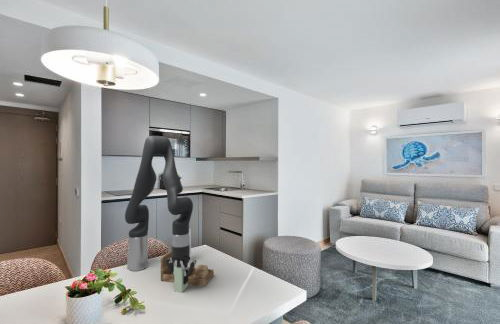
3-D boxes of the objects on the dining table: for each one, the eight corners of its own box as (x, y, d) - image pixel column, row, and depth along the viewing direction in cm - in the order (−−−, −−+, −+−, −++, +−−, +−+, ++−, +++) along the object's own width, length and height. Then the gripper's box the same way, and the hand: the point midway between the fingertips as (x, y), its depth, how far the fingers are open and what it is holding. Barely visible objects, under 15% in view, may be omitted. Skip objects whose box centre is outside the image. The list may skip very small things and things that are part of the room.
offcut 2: (193, 282, 114) (193, 275, 114) (199, 276, 120) (199, 270, 120) (203, 283, 113) (203, 277, 113) (208, 277, 119) (208, 271, 119)
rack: (160, 283, 116) (160, 257, 116) (173, 273, 126) (173, 249, 126) (204, 289, 110) (204, 261, 110) (213, 278, 121) (213, 253, 121)
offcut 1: (194, 275, 114) (194, 269, 114) (198, 271, 119) (198, 264, 119) (204, 276, 114) (204, 269, 114) (207, 271, 119) (207, 265, 119)
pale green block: (174, 291, 106) (174, 268, 106) (180, 285, 111) (180, 263, 111) (181, 292, 105) (181, 268, 105) (187, 286, 110) (187, 264, 110)
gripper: (161, 245, 106) (161, 285, 106) (191, 247, 103) (191, 289, 103) (171, 239, 114) (171, 277, 114) (199, 242, 110) (199, 280, 110)
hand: (181, 282), depth 108 cm, fingers closed on pale green block, 3 cm apart
